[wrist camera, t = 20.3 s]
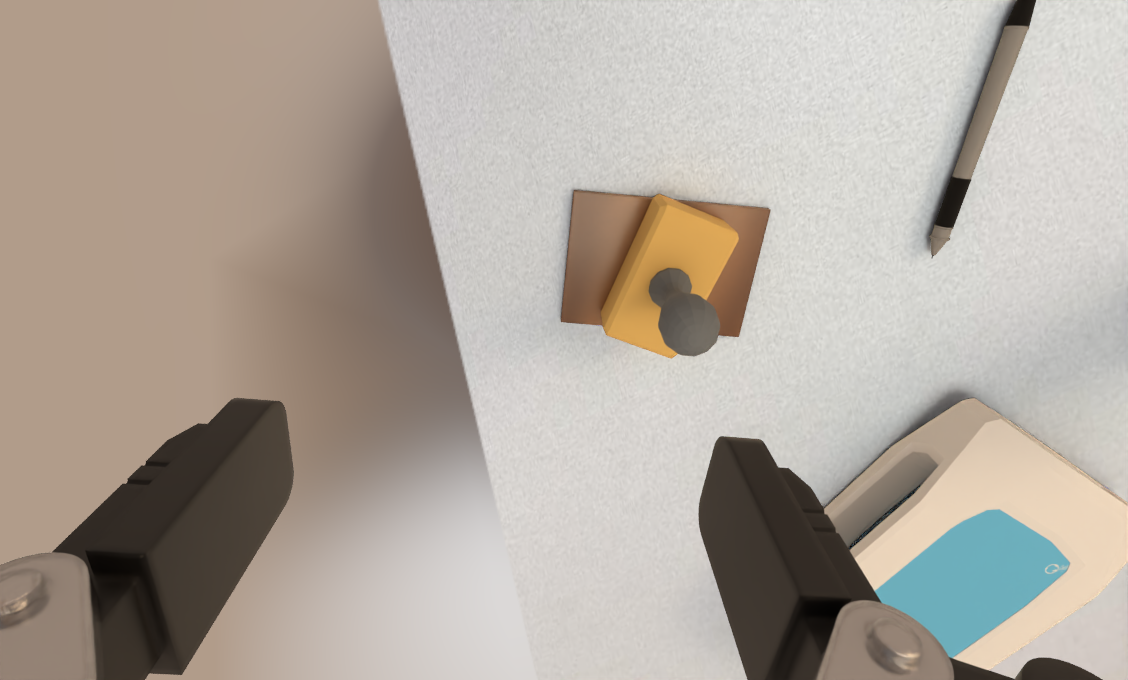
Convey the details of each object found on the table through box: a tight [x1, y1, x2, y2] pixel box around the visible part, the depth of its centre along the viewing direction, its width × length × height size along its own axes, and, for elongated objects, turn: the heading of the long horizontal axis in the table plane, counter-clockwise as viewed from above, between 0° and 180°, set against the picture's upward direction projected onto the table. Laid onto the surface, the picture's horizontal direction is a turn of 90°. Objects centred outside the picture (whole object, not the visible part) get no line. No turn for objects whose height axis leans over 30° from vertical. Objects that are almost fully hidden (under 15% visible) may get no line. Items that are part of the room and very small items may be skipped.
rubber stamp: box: [601, 194, 739, 358], centre depth 36 cm, size 10×6×12 cm, turn 158°
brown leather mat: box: [561, 190, 770, 337], centre depth 42 cm, size 14×10×1 cm
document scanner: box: [824, 398, 1128, 670], centre depth 51 cm, size 21×28×6 cm
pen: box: [929, 0, 1036, 257], centre depth 38 cm, size 1×16×1 cm, turn 176°
